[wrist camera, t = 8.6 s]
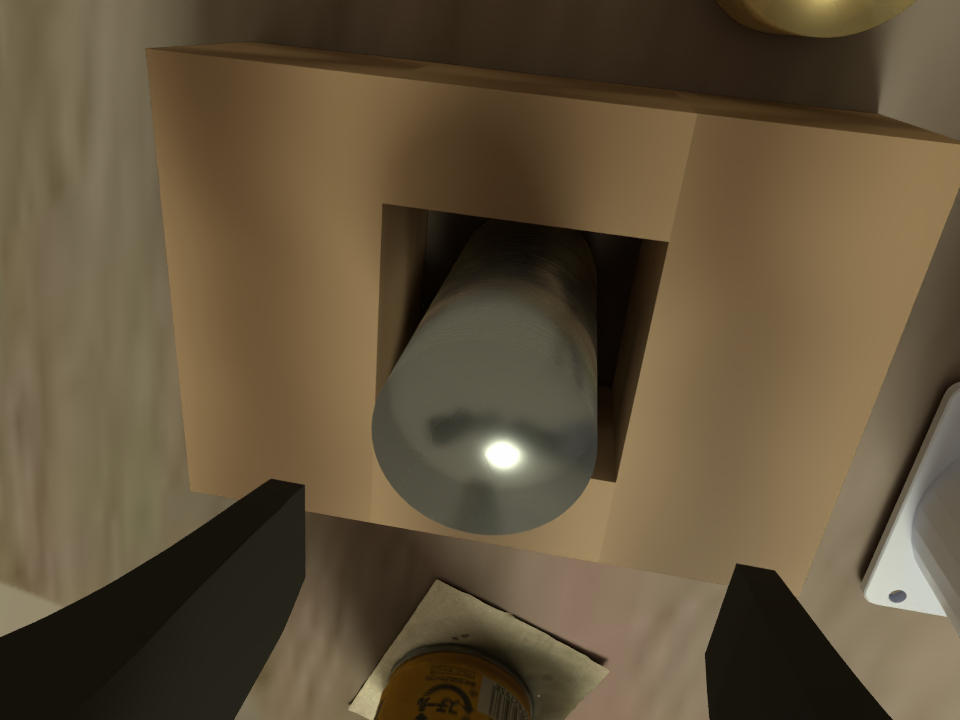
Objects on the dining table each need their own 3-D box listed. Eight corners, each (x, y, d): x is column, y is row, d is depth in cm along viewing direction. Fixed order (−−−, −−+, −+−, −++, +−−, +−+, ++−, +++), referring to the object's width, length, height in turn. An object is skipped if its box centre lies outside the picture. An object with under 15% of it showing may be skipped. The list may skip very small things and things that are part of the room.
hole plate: (878, 114, 17) (975, 146, 13) (758, 482, 22) (798, 597, 18) (252, 41, 19) (145, 48, 14) (267, 402, 24) (190, 490, 19)
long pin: (606, 217, 20) (613, 355, 11) (586, 349, 21) (581, 550, 13) (462, 202, 20) (371, 326, 12) (454, 333, 22) (371, 518, 14)
